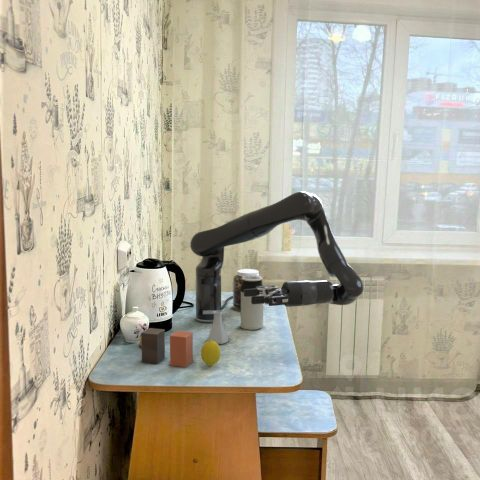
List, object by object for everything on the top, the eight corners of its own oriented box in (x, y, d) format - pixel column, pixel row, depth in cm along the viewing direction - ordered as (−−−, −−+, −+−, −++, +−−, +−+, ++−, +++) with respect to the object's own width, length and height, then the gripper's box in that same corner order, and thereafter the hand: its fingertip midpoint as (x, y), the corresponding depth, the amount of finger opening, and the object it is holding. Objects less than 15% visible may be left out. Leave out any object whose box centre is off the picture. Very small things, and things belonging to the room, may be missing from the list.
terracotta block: (177, 359, 178) (177, 330, 177) (192, 361, 177) (192, 332, 176) (170, 365, 174) (169, 335, 172) (186, 367, 173) (185, 337, 171)
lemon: (201, 363, 176) (201, 337, 175) (220, 363, 177) (220, 337, 175) (200, 370, 171) (200, 343, 169) (219, 369, 171) (220, 343, 170)
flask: (224, 345, 192) (224, 315, 190) (203, 343, 193) (203, 313, 192) (231, 338, 199) (231, 309, 197) (211, 336, 200) (211, 307, 199)
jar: (266, 305, 241) (266, 269, 238) (257, 313, 229) (258, 275, 227) (238, 303, 243) (238, 267, 241) (228, 310, 232) (228, 273, 230)
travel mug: (252, 331, 207) (253, 281, 204) (235, 327, 211) (236, 277, 208) (267, 326, 213) (268, 277, 210) (251, 322, 218) (251, 274, 215)
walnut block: (149, 356, 180) (149, 328, 179) (164, 358, 179) (164, 329, 178) (141, 362, 176) (141, 332, 174) (157, 364, 175) (156, 334, 173)
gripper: (292, 276, 186) (241, 278, 180) (308, 286, 173) (254, 290, 167) (291, 299, 187) (241, 302, 181) (307, 311, 174) (253, 315, 168)
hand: (247, 296), depth 174 cm, fingers open, 8 cm apart
